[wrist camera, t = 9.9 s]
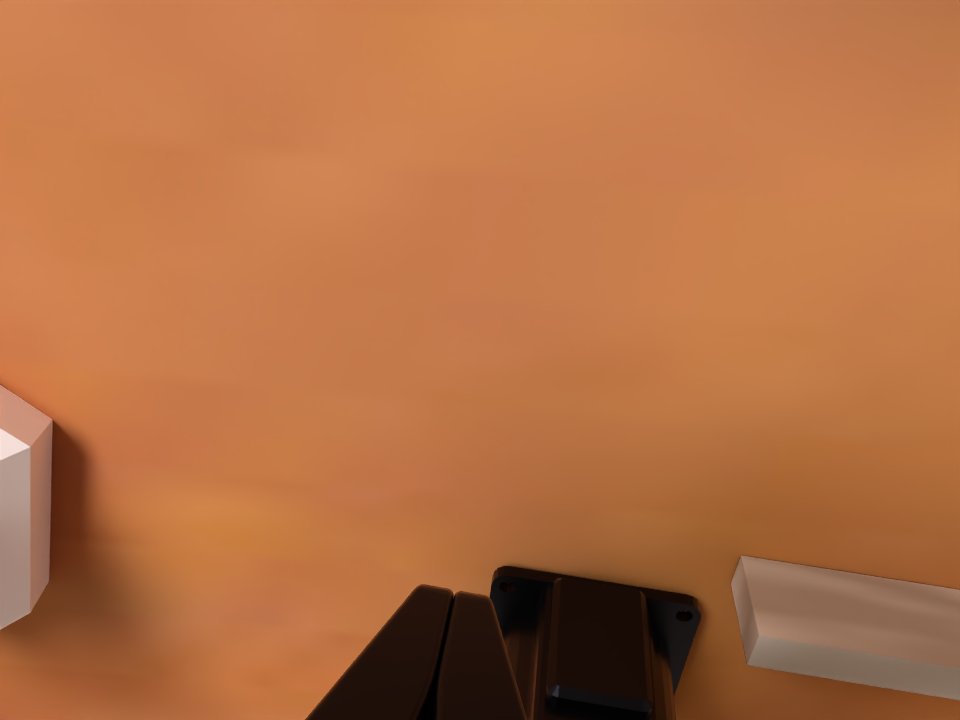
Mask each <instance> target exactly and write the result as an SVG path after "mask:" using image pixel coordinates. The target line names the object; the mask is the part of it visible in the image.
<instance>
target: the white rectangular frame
mask: <svg viewBox="0 0 960 720" xmlns="http://www.w3.org/2000/svg"><path fill="white" fill-rule="evenodd" d="M731 587H732V592H733V597H734V602H735V607H736V612H737V617H738V622H739V627H740V632H741V637H742V642H743V647H744V652H745V657H746V662H747V665H749V666H755V667H761V668H767V669H773V670H779V671H785V672H791V673H797V674H803V675H809V676H815V677H821V678H827V679H833V680H839V681H845V682H851V683H857V684H863V685H869V686H875V687H881V688H887V689H894V690H900V691H906V692H912V693H918V694H924V695H930V696H936V697H942V698H948V699H954V700H960V590H958V589H952V588H945V587H939V586H933V585H926V584H920V583H914V582H907V581H901V580H895V579H888V578H882V577H876V576H869V575H863V574H856V573H850V572H844V571H837V570H831V569H825V568H818V567H812V566H806V565H799V564H793V563H787V562H780V561H774V560H768V559H761V558H755V557H748V556H742V555H741V557H740V560H739V563H738V565H737V568H736V571H735V574H734V577H733V579H732V582H731Z"/></svg>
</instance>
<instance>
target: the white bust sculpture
mask: <svg viewBox="0 0 960 720" xmlns="http://www.w3.org/2000/svg"><path fill="white" fill-rule="evenodd" d="M52 426H53V420H52V419H51V418H49V417H48V416H46V415H45V414H43V413H42V412H40V411H39V410H37V409H36V408H34V407H33V406H31V405H30V404H28V403H27V402H26V401H24V400H23V399H21V398H20V397H18V396H17V395H15V394H14V393H12V392H10V391H9V390H7V389H6V388H4V387H3V386H1V385H0V630H1V629H2V628H4V627H6V626H8V625H10V624H11V623H13V622H15V621H17V620H19V619H20V618H22V617H24V616H26V615H28V614H29V613H31V611H32V609H33V608H34V606H35V604H36V602H37V601H38V599H39V597H40V596H41V594H42V592H43V591H44V589H45V587H46V585H47V584H48V582H49V568H50V521H51V473H52Z"/></svg>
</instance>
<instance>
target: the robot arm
mask: <svg viewBox="0 0 960 720" xmlns="http://www.w3.org/2000/svg"><path fill="white" fill-rule="evenodd" d="M504 581H509V582H512V583H509V584H508V583H505V582H504ZM453 598H454V599H453ZM681 610H687V611H686V612H681ZM700 618H701V613H700V606H699V603H698V601H697V600H696V599H695V598H694V597H692V596H689V595H685V594H679V593H673V592H667V591H660V590H654V589H648V588H642V587H636V586H629V585H623V584H617V583H611V582H605V581H598V580H592V579H586V578H580V577H573V576H567V575H561V574H555V573H549V572H542V571H536V570H530V569H524V568H518V567H511V566H503V567H500V568H498V569H497V570H495V572H494V574H493V578H492V585H491V592H490V598H489V597H488V596H485V595H480V594H474V593H469V592H463V591H459V592H457V593H456V594H455V596H454V595H453V592H452V591H451V590H450V589H447V588H441V587H436V586H430V585H423V584H422V585H419V586H418V587H416V588H415V589H414V590H413V592H412V593H411V594H410V595H409V596H408V597H407V599H406V600H405V601H404V602H403V603H402V605H401V606H400V607H399V608H398V609H397V611H396V612H395V613H394V614H393V615H392V617H391V618H390V619H389V620H388V621H387V623H386V624H385V625H384V626H383V627H382V629H381V630H380V631H379V632H378V633H377V634H376V636H375V637H374V638H373V639H372V640H371V642H370V643H369V644H368V645H367V646H366V648H365V649H364V650H363V651H362V652H361V654H360V655H359V656H358V657H357V658H356V660H355V661H354V662H353V663H352V664H351V666H350V667H349V668H348V669H347V670H346V672H345V673H344V674H343V675H342V676H341V677H340V679H339V680H338V681H337V682H336V683H335V685H334V686H333V687H332V688H331V689H330V691H329V692H328V693H327V694H326V695H325V697H324V698H323V699H322V700H321V701H320V703H319V704H318V705H317V706H316V707H315V709H314V710H313V711H312V712H311V713H310V715H309V716H308V717H307V718H306V719H305V720H676V716H675V706H674V694H675V691H676V688H677V686H678V683H679V680H680V677H681V674H682V671H683V668H684V665H685V662H686V659H687V656H688V654H689V651H690V648H691V645H692V642H693V639H694V636H695V633H696V630H697V627H698V624H699V621H700Z"/></svg>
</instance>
